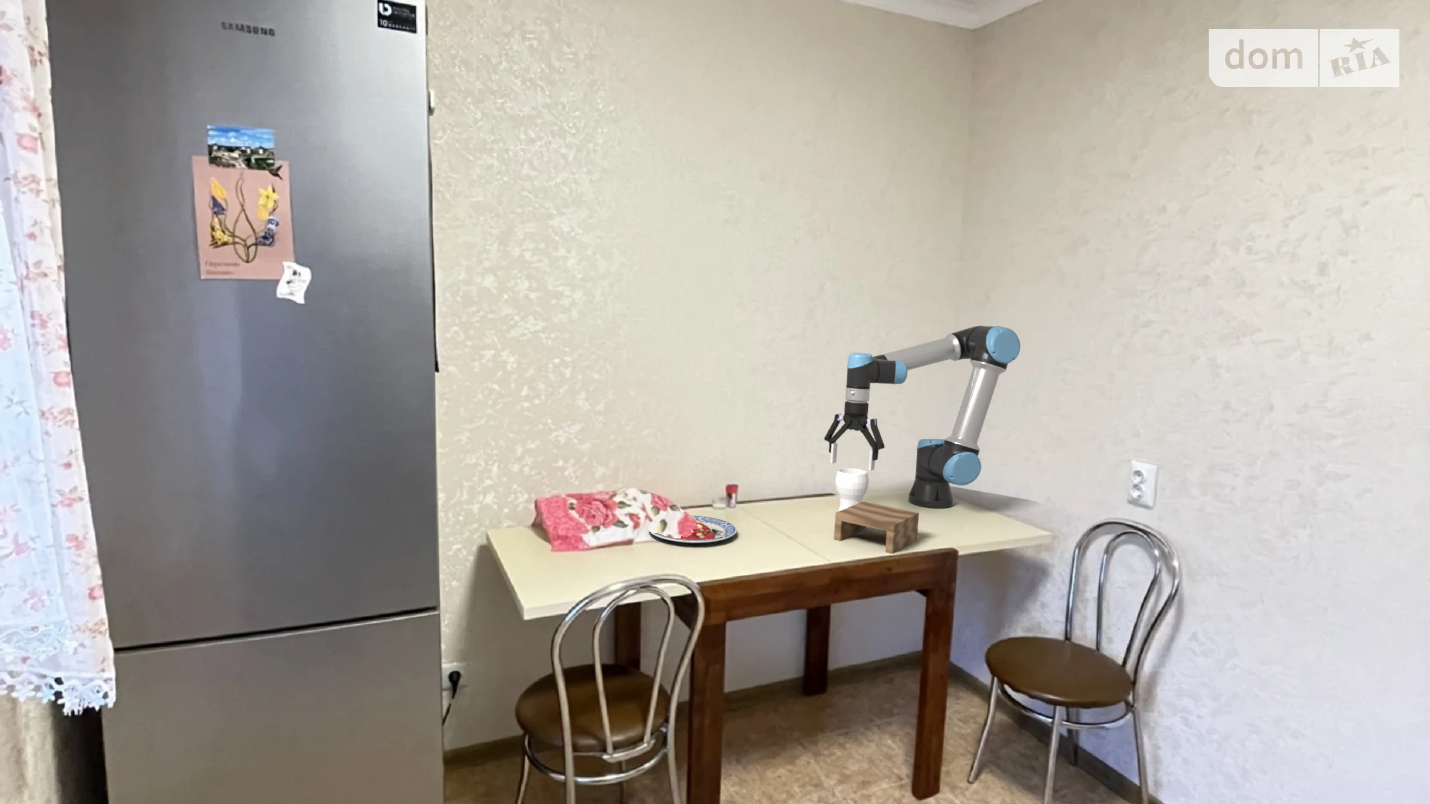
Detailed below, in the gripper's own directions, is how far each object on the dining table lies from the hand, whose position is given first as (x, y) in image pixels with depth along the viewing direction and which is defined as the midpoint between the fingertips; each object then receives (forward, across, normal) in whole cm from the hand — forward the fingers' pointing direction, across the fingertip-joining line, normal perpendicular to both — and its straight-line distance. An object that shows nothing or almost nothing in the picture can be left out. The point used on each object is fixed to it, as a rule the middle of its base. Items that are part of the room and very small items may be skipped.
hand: (851, 466), depth 235 cm
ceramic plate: (+18, -25, -51) cm, 59 cm away
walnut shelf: (+17, +17, -17) cm, 29 cm away
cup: (+17, 0, 0) cm, 17 cm away
